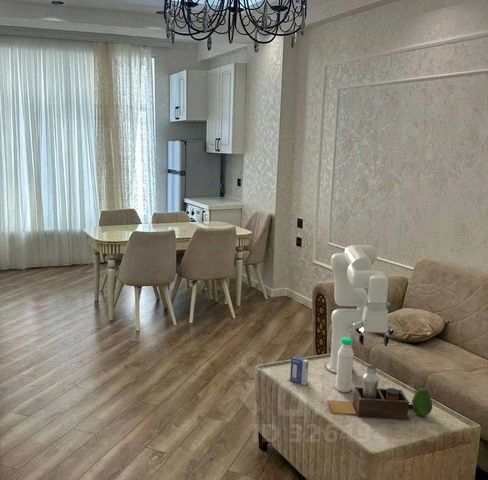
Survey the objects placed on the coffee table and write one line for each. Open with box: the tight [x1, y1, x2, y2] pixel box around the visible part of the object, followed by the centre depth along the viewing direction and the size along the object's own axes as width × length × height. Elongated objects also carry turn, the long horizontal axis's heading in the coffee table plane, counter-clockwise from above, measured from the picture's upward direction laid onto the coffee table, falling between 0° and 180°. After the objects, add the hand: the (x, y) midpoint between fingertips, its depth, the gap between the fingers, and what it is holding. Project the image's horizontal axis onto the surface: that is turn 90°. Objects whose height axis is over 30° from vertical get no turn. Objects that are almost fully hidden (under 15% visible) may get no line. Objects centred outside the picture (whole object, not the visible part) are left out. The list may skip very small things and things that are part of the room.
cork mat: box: [328, 400, 357, 415], centre depth 234 cm, size 10×10×1 cm
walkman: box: [289, 355, 310, 386], centre depth 257 cm, size 8×3×12 cm, turn 54°
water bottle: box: [334, 337, 355, 393], centre depth 249 cm, size 7×7×25 cm
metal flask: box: [362, 365, 380, 399], centre depth 230 cm, size 6×7×20 cm
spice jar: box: [385, 387, 400, 400], centre depth 230 cm, size 5×5×10 cm
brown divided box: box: [352, 386, 410, 420], centre depth 231 cm, size 11×20×8 cm, turn 84°
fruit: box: [411, 387, 433, 417], centre depth 228 cm, size 8×8×12 cm
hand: (373, 344), depth 225 cm, fingers open, 9 cm apart
